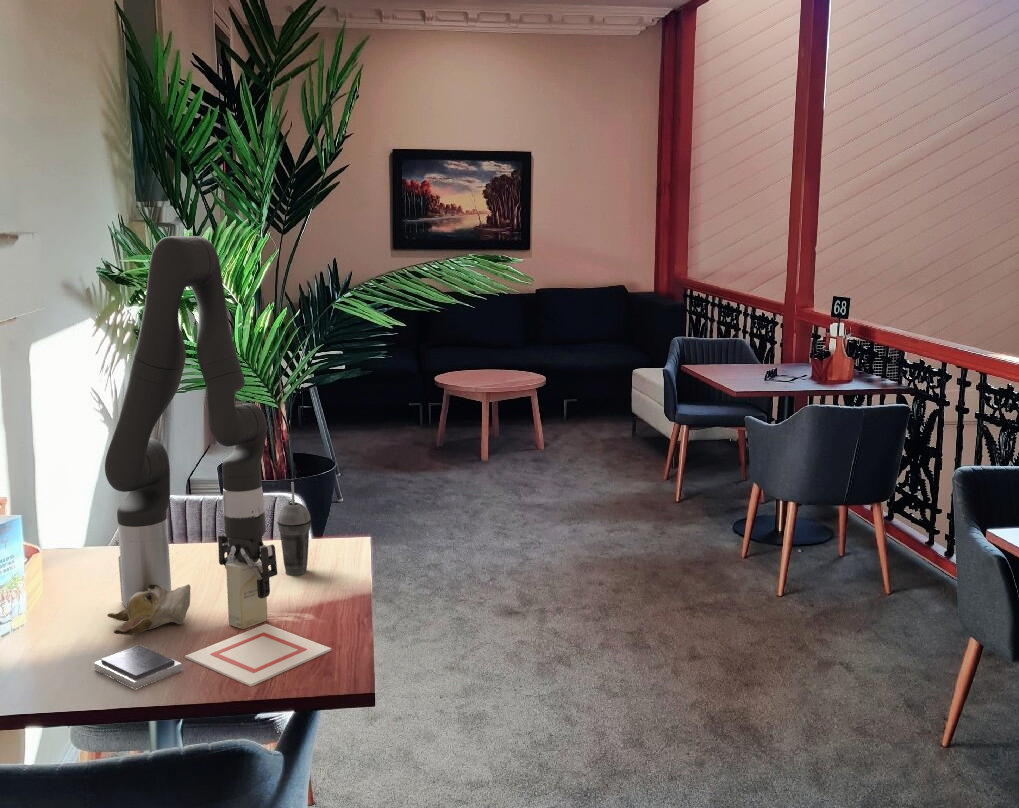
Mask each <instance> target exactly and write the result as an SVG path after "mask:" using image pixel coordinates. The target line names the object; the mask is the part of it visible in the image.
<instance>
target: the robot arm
mask: <svg viewBox="0 0 1019 808" xmlns="http://www.w3.org/2000/svg"><path fill="white" fill-rule="evenodd" d="M152 249H153V250H152V252H151V255H150V261H149V266H148V273H147V274H148V275H147V281H146V282H147V284H146V291H145V292H146V293H145V299H144V300H145V302H144V308H143V313H142V319H141V323H140V327H139V333H138V338H137V343H136V347H135V350H134V353H133V357H132V363H131V364H130V365H131V366H130V371H129V377H128V382H127V386H126V390H125V395H124V398H123V402H122V406H121V411H120V414H119V418H118V420H117V424H116V426H115V429H114V433H113V436H112V439H111V441H110V444H109V447H108V449H107V453H106V456H105V460H104V474H105V477H106V480H107V482H108V484H109V485H110V486H111V487H112V488H113V489H114V490H115V491H118V492H122V493H125V492H126V493H127V492H129V493H128V495H127V497H126V498H125V500H123V502H122V503H121V504H120V505H119V506H118V508H117V512H116V517H117V518H116V519H117V529H118V530H117V531H118V533H117V534H118V542H119V543H118V544H119V556H118V570H119V583H120V597H121V602H122V603H123V607H125V609H126V608H127V603H128V601H129V599H130V598H131V597H132V596H133V595H134V594H135V593H137V592H142V591H144V590H148V588H149V585H151V584H153V585H158V586H162V587H163V588H164V589H165V590H167V591H172V577H171V561H170V545H169V532H168V527H169V526H168V517H167V516H168V515H167V514H168V513H167V512H168V509H169V508H168V507H170V506H169V505H170V501H171V471H170V470H171V468H170V467H171V465H170V459H169V456H168V453H167V450H166V448H165V446H164V445H163V444H162V443H161V442H160V441H159V440H158V439H156V438H152V437H151V436H152V433H153V430H154V428H155V427H156V424H157V423H158V421H159V420H160V418H161V417H162V416H163V413H165V411H166V410H167V408H168V407H169V405H170V404H171V402H172V401H173V399H174V398H175V396H176V393H177V392H178V389H179V387H180V384H181V380H182V377H183V372H184V369H185V364H186V358H187V351H186V344H185V341H184V340H185V339H184V337H183V334H182V330H181V327H180V323H179V314H180V313H179V312H180V311H179V310H180V306H181V303H182V297H183V294H184V291H185V289H186V288H189V287H190V288H191V290H192V292H193V295H194V297H195V301H196V304H197V310H198V323H197V324H198V327H197V333H196V342H195V346H196V347H195V348H196V350H195V351H196V359H197V363H198V366H199V368H200V371H201V375H202V378H203V381H204V384H205V387H206V405H207V423H208V427H209V431H210V433H211V435H212V437H213V439H214V440H215V442H217V443H218V444H219V445H221V446H224V447H227V448H228V447H234V450H233V451H232V453H231V454H230V455H229V456H227V457H226V458H225V459H224V460H223V461H222V463H221V473H222V475H221V476H222V488H223V489H222V490H223V491H222V510H223V525H224V533H223V534H221V535H219V536H218V538H217V540H218V542H217V543H218V545H217V546H218V563H219V565H220V566H224V568H225V569H226V564H228V563H231V562H235V561H237V560H238V562H244V563H245V564H248V565H249V567H250V569H251V570H253V571H254V572H255V574H256V576H257V578H258V579H257V591H258V597H259V598H261V599H262V598H265V597H267V598H268V597H269V596H270V593H271V589H270V588H271V586H270V585H271V584H270V582H271V581H270V579H271V578H272V577H275V576H278V566H277V565H278V564H277V556H276V555H277V554H276V546H275V544H270V545H267V544H264V542H263V536H264V535H265V533H266V532H267V528H266V527H267V526H266V512H265V511H266V509H265V496H264V492H263V486H262V485H263V483H262V482H263V481H262V470H261V469H262V467H261V465H262V464H261V463H262V460H263V455H264V451H265V444H266V439H267V433H268V432H267V431H268V422H267V417H266V416H265V413H264V411H263V410H262V408H261V407H260V406H258V405H257V404H255V403H250V402H247V403H242V404H238V405H236V393H237V392H239V391H241V390H242V389H243V388H244V387H245V385H246V380H245V375H244V372H243V370H242V366H241V363H240V360H239V357H238V354H237V350H236V348H235V347H236V346H235V344H234V340H233V336H232V332H231V326H230V322H229V315H228V309H227V302H226V295H225V289H224V281H223V276H222V269H221V263H220V258H219V256H218V252H217V250H216V247H215V246H214V245H213V243H212V242H211V241H210V240H208V239H207V238H205V237H203V236H199V235H190V236H189V235H183V236H180V235H175V236H174V235H171V236H166V237H163V238H161V239H159V241H157V243H156V244H155V245H154V248H152ZM225 554H226V556H225ZM259 559H260V560H261V562H258V563H255V562H257V561H258V560H259ZM269 566H270V568H269ZM260 567H261V568H262V570H263V572H262V573H261V571H260V569H259V568H260Z"/></svg>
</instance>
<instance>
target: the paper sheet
mask: <svg viewBox="0 0 1019 808" xmlns="http://www.w3.org/2000/svg"><path fill="white" fill-rule="evenodd" d="M331 651H332V648H331V647H329V646H326V645H323V644H322V643H321V644H320V643H318V642H316V641H313V640H310V639H307V638H305V637H302V636H300V635H298V634H294V633H292V632H289V631H286V630H284V629H281V628H279V627H276V626H273V625H271V624H268V623H264V624H262V625H259V626H256V627H254V628H252V629H250V630H247V631H245V632H242V633H239V634H237V635H234V636H231V637H229V638H227V639H224V640H221V641H219V642H217V643H214V644H211V645H209V646H207V647H204V648H201V649H199V650H196V651H194V652H192V653H189V654H186V655H184V657H185V659H187V660H190V661H191V662H193V663H196V664H198V665H200V666H202V667H205V668H207V669H209V670H212V671H214V672H217V673H219V674H221V675H223V676H225V677H228V678H230V679H232V680H234V681H237V682H240V683H242V684H244V685H245V686H249V687H253V686H255V685H256V686H257V685H258V684H260V683H262V682H265V681H267V680H269V679H271V678H274V677H276V676H277V675H280V674H282V673H284V672H287V671H289V670H291V669H293V668H295V667H298V666H300V665H302V664H304V663H307V662H309V661H311V660H313V659H315V658H316V659H317V658H318V657H320V656H322V655H325V654H327V653H329V652H331Z"/></svg>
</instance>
